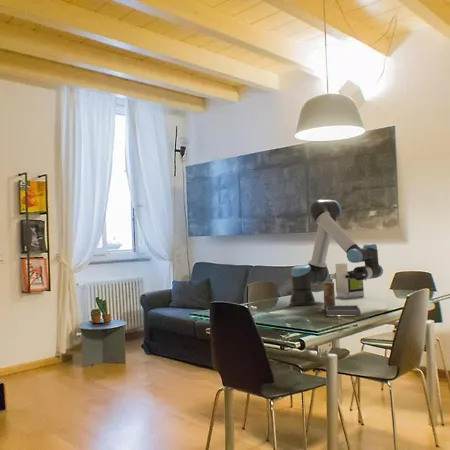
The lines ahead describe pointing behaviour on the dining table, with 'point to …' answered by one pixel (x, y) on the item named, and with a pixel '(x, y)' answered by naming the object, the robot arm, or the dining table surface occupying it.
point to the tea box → (352, 289)
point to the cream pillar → (341, 284)
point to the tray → (343, 310)
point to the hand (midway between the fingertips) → (335, 277)
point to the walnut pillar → (329, 294)
